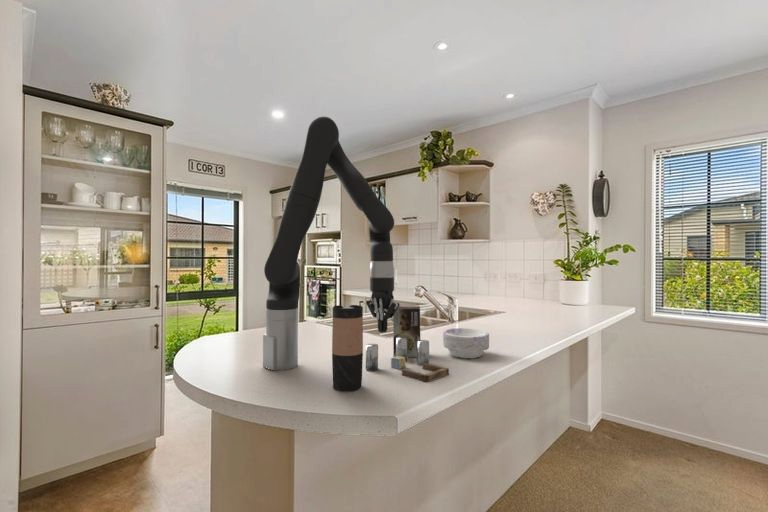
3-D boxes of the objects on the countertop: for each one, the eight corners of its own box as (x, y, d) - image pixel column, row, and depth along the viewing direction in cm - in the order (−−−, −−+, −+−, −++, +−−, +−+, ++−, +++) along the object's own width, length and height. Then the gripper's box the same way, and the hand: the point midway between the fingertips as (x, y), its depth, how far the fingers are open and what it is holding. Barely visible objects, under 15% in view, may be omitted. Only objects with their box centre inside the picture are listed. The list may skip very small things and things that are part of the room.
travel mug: (350, 394, 88) (350, 309, 89) (325, 388, 92) (325, 307, 93) (368, 385, 95) (369, 306, 95) (344, 380, 99) (345, 304, 99)
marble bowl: (486, 363, 116) (486, 337, 117) (438, 358, 122) (438, 334, 122) (491, 352, 131) (491, 329, 131) (447, 348, 136) (447, 326, 136)
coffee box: (420, 353, 129) (420, 306, 129) (420, 357, 122) (420, 308, 123) (394, 352, 130) (394, 305, 130) (392, 357, 123) (392, 307, 124)
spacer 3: (424, 366, 112) (424, 342, 112) (414, 364, 115) (414, 341, 115) (431, 364, 115) (431, 341, 115) (422, 361, 117) (422, 339, 118)
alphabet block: (390, 367, 111) (391, 357, 111) (397, 365, 113) (397, 355, 114) (399, 369, 109) (399, 359, 109) (405, 367, 112) (405, 357, 112)
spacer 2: (402, 361, 117) (402, 339, 117) (393, 359, 120) (393, 337, 120) (409, 359, 120) (409, 337, 120) (401, 357, 122) (401, 336, 122)
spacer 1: (371, 371, 107) (371, 347, 107) (363, 369, 109) (363, 345, 109) (380, 369, 109) (380, 345, 109) (372, 366, 112) (372, 343, 112)
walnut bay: (426, 382, 98) (426, 376, 98) (402, 375, 104) (402, 369, 104) (448, 374, 105) (448, 368, 105) (424, 368, 111) (424, 362, 111)
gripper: (358, 276, 119) (359, 331, 118) (388, 276, 109) (389, 336, 109) (375, 275, 124) (376, 327, 124) (405, 275, 115) (406, 332, 114)
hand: (382, 331), depth 116 cm, fingers closed
